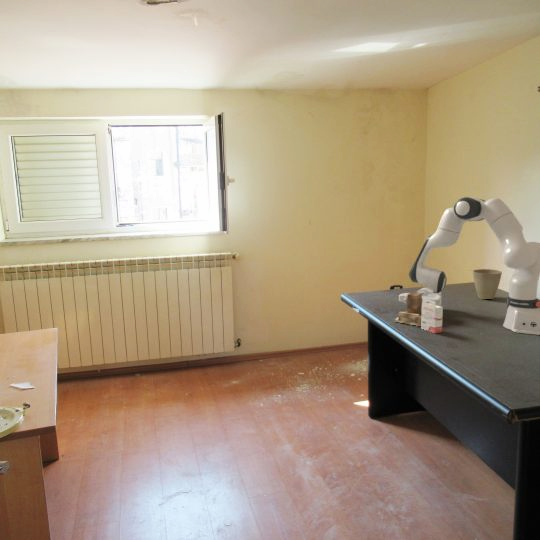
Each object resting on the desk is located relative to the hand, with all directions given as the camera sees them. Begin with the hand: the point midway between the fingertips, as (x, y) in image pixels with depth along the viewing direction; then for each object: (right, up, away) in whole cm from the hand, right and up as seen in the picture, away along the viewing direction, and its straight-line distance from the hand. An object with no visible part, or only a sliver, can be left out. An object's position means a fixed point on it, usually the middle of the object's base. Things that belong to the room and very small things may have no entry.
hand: (414, 302), depth 229 cm
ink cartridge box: (+4, -12, -13) cm, 18 cm away
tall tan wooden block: (0, -7, +2) cm, 8 cm away
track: (0, -9, +2) cm, 9 cm away
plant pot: (+53, -1, +41) cm, 67 cm away
